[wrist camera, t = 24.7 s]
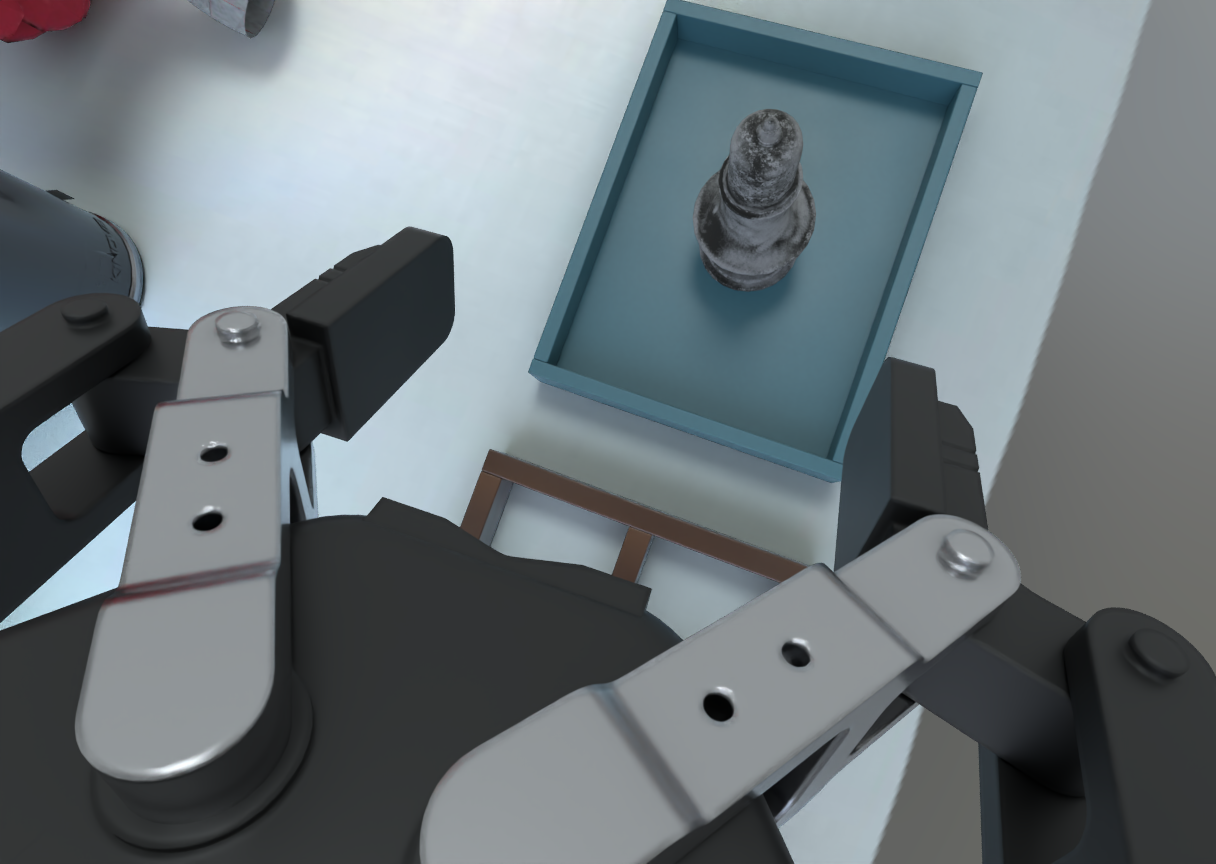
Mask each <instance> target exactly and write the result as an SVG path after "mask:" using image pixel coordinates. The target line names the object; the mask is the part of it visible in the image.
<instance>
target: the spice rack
mask: <svg viewBox="0 0 1216 864" xmlns="http://www.w3.org/2000/svg"><path fill="white" fill-rule="evenodd" d="M513 483H516V484H518V485H521V486H524V487H526V488H529V489H532V490H534V491H537V492H540V493H542V494H545V495H548V496H550V497H553V498H556V499H558V500H561V501H564V502H566V503H569V504H572V505H574V506H577V507H580V508H582V509H585V510H588V511H590V512H593V513H596V514H598V515H601V516H603V517H606V518H609V519H611V520H614V521H617V522H619V523H622V524H625V525H627V526H630V527H629V529H628V532H627V534H626V537H625V540H624V543H623V545H622V548H621V551H620V554H619V557H618V559H617V562H616V565H615V568H614V570H613V573H612V575H613V576H616V577H619V578H622V579H625V580H628V581H631V582H633V583H636V584H637V583H638V580H639V577H640V574H641V571H642V569H643V566H644V563H645V560H646V557H647V555H648V552H649V549H650V546H651V543H652V541H653V538H654V536H657V537H659V538H662V539H665V540H667V541H670V542H673V543H675V544H678V545H681V546H683V547H686V548H688V549H691V550H694V551H696V552H699V553H702V554H704V555H707V556H710V557H712V558H715V559H718V560H720V561H723V562H726V563H728V564H731V565H734V566H736V567H739V568H742V569H744V570H747V571H750V572H752V573H755V574H758V575H760V576H763V577H766V578H768V579H771V580H774V581H776V582H779V583H782V582H783V581H785V580H787V579H788V578H790V577H792V576H794V575H795V574H797V573H799V572H800V571H802V570H804V569H805V568H807V567H809V565H806V564H803V563H800V562H798V561H795V560H792V559H790V558H787V557H784V556H781V555H779V554H776V553H773V552H771V551H768V550H765V549H763V548H760V547H757V546H754V545H752V544H749V543H746V542H744V541H741V540H738V539H736V538H733V537H730V536H727V535H725V534H722V533H719V532H717V531H714V530H711V529H708V528H706V527H703V526H700V525H698V524H695V523H692V522H690V521H687V520H684V519H681V518H679V517H676V516H673V515H671V514H668V513H665V512H662V511H660V510H657V509H654V508H652V507H649V506H646V505H644V504H641V503H638V502H635V501H633V500H630V499H627V498H625V497H622V496H619V495H616V494H614V493H611V492H608V491H606V490H603V489H600V488H598V487H595V486H592V485H589V484H587V483H584V482H581V481H579V480H576V479H573V478H570V477H568V476H565V475H562V474H560V473H557V472H554V471H552V470H549V469H546V468H543V467H541V466H538V465H535V464H533V463H530V462H527V461H524V460H522V459H519V458H516V457H514V456H511V455H508V454H506V453H503V452H499V451H495V450H492V449H490V450H489V452H488V454H487V457H486V460H485V462H484V465H483V468H482V471H481V473H480V476H479V478H478V481H477V484H476V486H475V489H474V492H473V494H472V497H471V500H470V502H469V505H468V508H467V510H466V513H465V516H464V518H463V521H462V524H461V526H460V528H461V529H463V530H464V531H466V532H468V533H469V534H471V535H472V536H474V537H475V538H477V539H479V540H480V541H482V542H483V543H485V544H487V545H488V546H490V544H491V542H492V539H493V536H494V534H495V531H496V528H497V526H498V523H499V520H500V518H501V515H502V512H503V509H504V507H505V504H506V501H507V499H508V496H509V493H510V491H511V488H512V485H513Z"/></svg>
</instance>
